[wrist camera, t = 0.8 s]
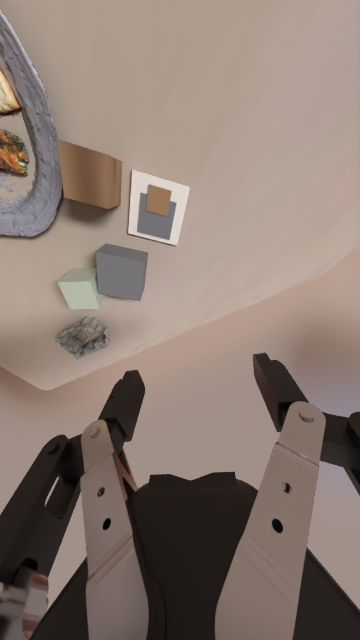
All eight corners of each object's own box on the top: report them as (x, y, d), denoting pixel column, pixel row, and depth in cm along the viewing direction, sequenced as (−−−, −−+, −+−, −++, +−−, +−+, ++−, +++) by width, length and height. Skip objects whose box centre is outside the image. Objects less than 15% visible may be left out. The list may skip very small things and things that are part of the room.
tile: (128, 232, 29) (127, 233, 28) (133, 169, 24) (131, 169, 23) (177, 244, 30) (177, 246, 29) (189, 187, 25) (190, 187, 25)
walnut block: (85, 195, 26) (64, 197, 21) (82, 149, 23) (57, 139, 18) (120, 205, 26) (108, 209, 22) (122, 161, 23) (108, 154, 19)
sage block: (84, 292, 35) (70, 309, 30) (75, 268, 32) (57, 282, 27) (109, 291, 35) (99, 308, 30) (102, 267, 32) (89, 281, 27)
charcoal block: (107, 281, 34) (98, 293, 30) (106, 243, 30) (95, 251, 26) (144, 288, 35) (140, 301, 31) (148, 252, 31) (144, 262, 27)
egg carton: (93, 311, 38) (85, 323, 35) (116, 334, 42) (111, 346, 39) (58, 329, 41) (47, 341, 38) (82, 349, 45) (75, 362, 42)
